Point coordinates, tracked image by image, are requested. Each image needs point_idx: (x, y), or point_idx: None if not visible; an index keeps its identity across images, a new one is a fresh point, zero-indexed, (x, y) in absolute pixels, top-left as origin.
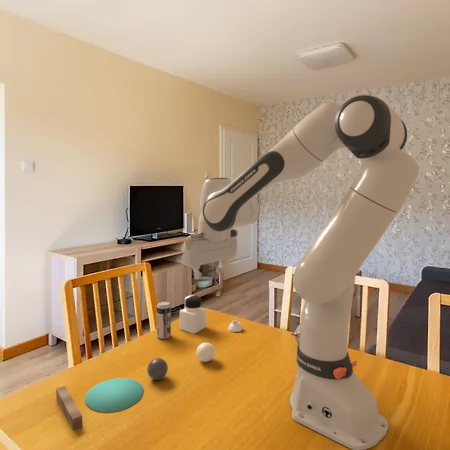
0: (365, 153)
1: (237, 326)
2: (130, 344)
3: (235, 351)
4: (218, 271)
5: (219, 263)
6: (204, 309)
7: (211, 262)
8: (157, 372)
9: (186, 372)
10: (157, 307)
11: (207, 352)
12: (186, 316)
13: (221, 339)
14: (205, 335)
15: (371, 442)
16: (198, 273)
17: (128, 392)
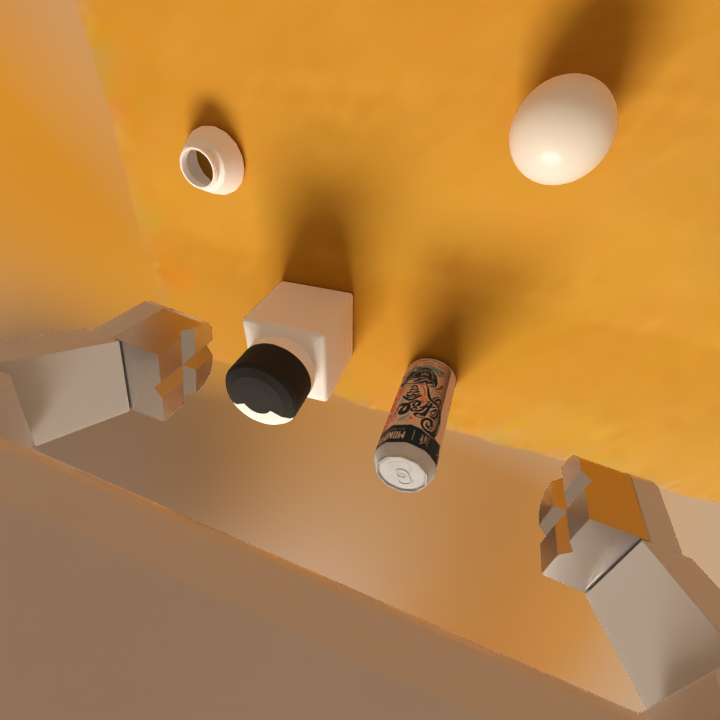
0: None
1: (212, 145)
2: (533, 439)
3: (399, 27)
4: (192, 353)
5: (66, 429)
6: (251, 323)
7: (383, 608)
8: None
9: (708, 147)
10: (432, 479)
11: (609, 96)
12: (331, 363)
13: (330, 168)
14: (339, 249)
15: None
16: (693, 565)
17: None
